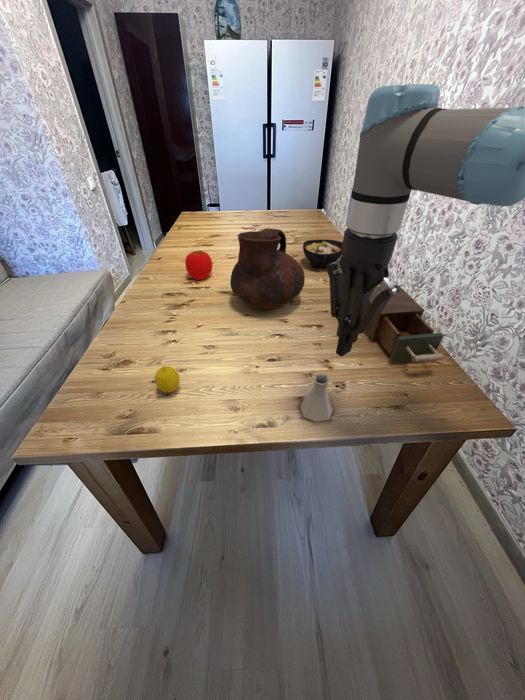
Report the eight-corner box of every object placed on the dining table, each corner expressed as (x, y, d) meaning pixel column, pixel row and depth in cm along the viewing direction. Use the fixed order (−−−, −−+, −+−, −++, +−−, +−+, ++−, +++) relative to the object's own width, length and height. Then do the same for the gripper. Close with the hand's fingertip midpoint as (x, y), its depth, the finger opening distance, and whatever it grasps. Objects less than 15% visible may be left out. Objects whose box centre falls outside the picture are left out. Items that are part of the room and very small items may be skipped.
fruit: (173, 378, 73) (166, 355, 68) (187, 389, 70) (180, 365, 65) (154, 391, 70) (145, 368, 64) (168, 402, 67) (160, 379, 62)
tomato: (183, 281, 114) (177, 255, 107) (194, 270, 122) (189, 245, 115) (207, 284, 112) (203, 257, 105) (217, 272, 120) (213, 247, 113)
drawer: (443, 372, 72) (457, 348, 67) (400, 376, 71) (410, 352, 66) (406, 329, 86) (415, 306, 81) (369, 332, 85) (376, 310, 80)
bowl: (303, 256, 132) (305, 234, 125) (341, 258, 129) (344, 236, 123) (299, 272, 119) (301, 248, 113) (341, 275, 116) (345, 251, 110)
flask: (300, 395, 68) (304, 365, 61) (331, 398, 67) (338, 368, 61) (299, 420, 62) (303, 390, 56) (333, 424, 62) (340, 393, 55)
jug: (315, 296, 104) (323, 224, 88) (276, 329, 88) (278, 250, 72) (260, 278, 115) (258, 212, 99) (217, 305, 100) (208, 232, 84)
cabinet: (413, 338, 84) (424, 310, 78) (371, 342, 83) (380, 313, 77) (389, 311, 95) (398, 284, 89) (353, 314, 94) (359, 287, 88)
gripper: (428, 236, 39) (382, 361, 54) (352, 215, 47) (331, 329, 62) (396, 249, 36) (357, 379, 51) (320, 224, 43) (306, 343, 59)
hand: (343, 352), depth 57 cm, fingers closed
